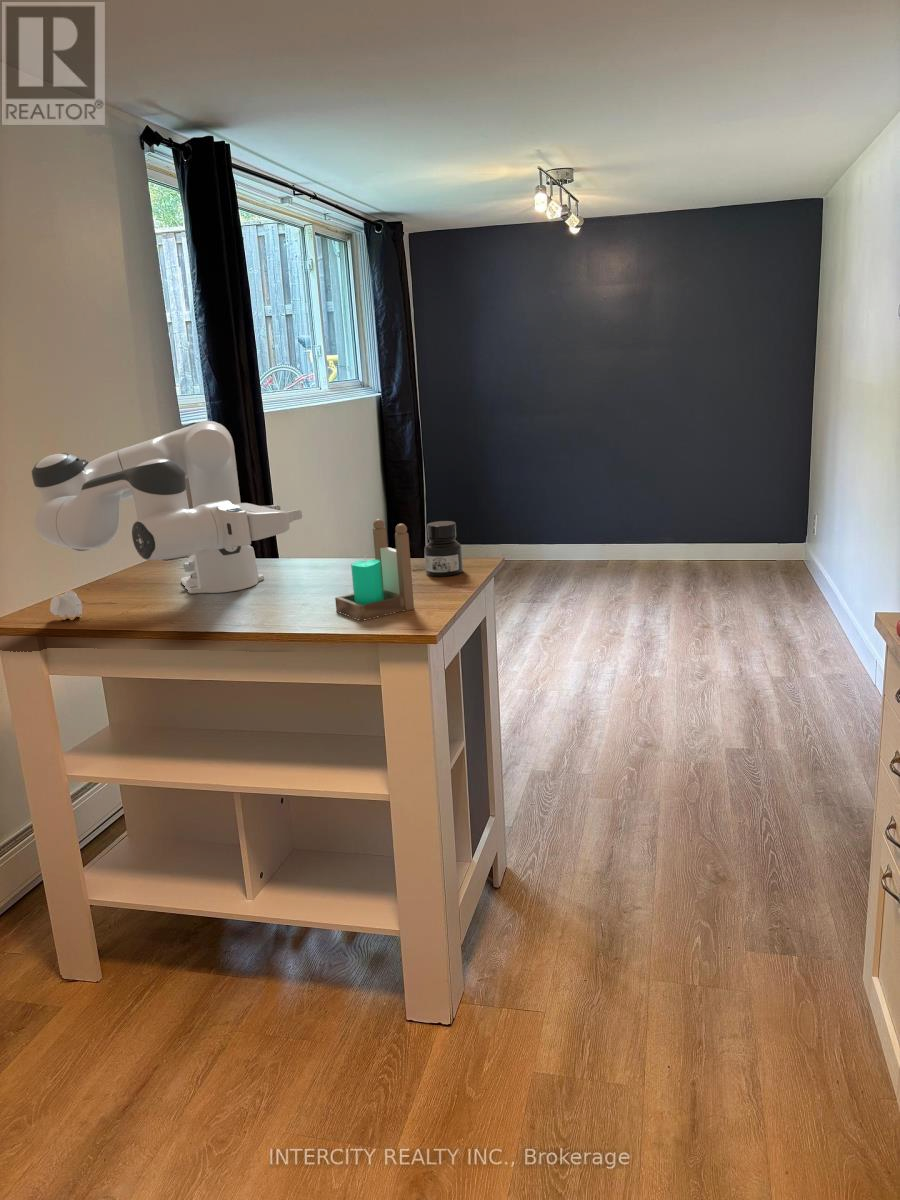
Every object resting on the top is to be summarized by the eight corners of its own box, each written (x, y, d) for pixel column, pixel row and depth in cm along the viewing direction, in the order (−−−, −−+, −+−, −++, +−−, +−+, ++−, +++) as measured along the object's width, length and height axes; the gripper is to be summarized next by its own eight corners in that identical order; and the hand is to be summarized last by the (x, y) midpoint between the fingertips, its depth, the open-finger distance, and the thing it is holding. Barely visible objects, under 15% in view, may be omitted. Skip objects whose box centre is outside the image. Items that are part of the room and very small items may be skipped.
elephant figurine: (62, 614, 209) (57, 589, 208) (94, 614, 208) (89, 588, 206) (43, 623, 203) (38, 597, 202) (75, 623, 201) (71, 596, 200)
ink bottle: (419, 577, 222) (415, 527, 219) (431, 568, 230) (427, 520, 227) (458, 577, 219) (455, 527, 216) (469, 568, 228) (466, 519, 224)
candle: (389, 608, 197) (384, 552, 193) (375, 616, 191) (370, 559, 188) (365, 606, 199) (360, 551, 196) (350, 614, 194) (344, 557, 191)
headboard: (377, 601, 203) (370, 519, 198) (387, 599, 204) (380, 517, 200) (405, 611, 194) (398, 525, 189) (415, 608, 195) (408, 523, 190)
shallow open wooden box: (336, 611, 197) (335, 597, 196) (379, 601, 203) (378, 588, 202) (361, 621, 189) (359, 606, 188) (405, 610, 194) (404, 596, 193)
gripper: (205, 534, 186) (269, 521, 193) (247, 547, 170) (315, 532, 177) (200, 503, 184) (265, 491, 192) (241, 513, 168) (310, 499, 175)
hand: (289, 511), depth 184 cm, fingers open, 8 cm apart
